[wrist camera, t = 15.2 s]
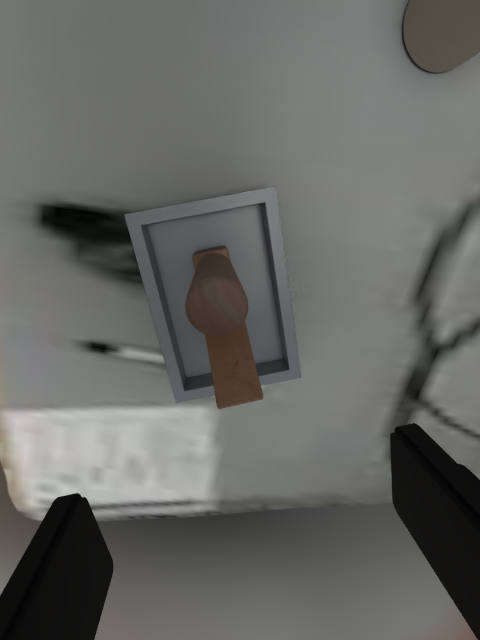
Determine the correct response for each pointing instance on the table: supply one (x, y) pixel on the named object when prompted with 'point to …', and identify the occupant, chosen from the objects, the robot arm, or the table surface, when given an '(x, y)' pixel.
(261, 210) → the tray
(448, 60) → the travel mug
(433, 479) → the robot arm
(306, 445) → the table surface
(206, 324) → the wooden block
